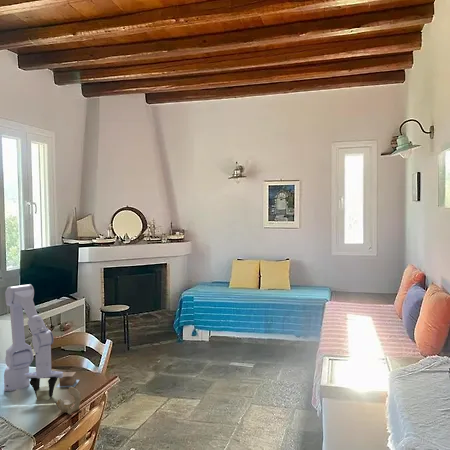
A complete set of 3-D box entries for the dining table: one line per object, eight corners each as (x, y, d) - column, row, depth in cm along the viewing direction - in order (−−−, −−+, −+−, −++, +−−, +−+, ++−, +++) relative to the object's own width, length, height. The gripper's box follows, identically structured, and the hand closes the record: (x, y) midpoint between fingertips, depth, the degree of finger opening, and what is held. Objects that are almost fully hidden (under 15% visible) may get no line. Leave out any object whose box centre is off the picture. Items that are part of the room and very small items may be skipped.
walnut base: (59, 386, 192) (59, 376, 192) (63, 381, 198) (63, 372, 198) (72, 385, 193) (72, 376, 192) (76, 380, 198) (75, 371, 198)
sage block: (36, 402, 177) (36, 391, 177) (40, 397, 182) (40, 386, 182) (48, 401, 178) (48, 390, 178) (52, 397, 182) (51, 386, 182)
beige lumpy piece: (54, 415, 162) (56, 386, 167) (55, 417, 167) (57, 389, 172) (79, 413, 164) (81, 384, 169) (79, 416, 170) (81, 388, 175)
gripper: (20, 366, 175) (21, 401, 175) (59, 364, 176) (60, 399, 176) (27, 360, 182) (28, 394, 182) (64, 359, 183) (65, 392, 183)
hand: (44, 396), depth 180 cm, fingers closed on sage block, 4 cm apart
